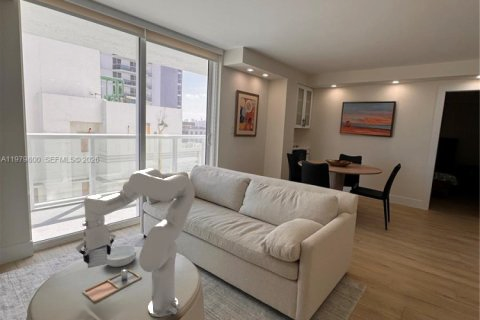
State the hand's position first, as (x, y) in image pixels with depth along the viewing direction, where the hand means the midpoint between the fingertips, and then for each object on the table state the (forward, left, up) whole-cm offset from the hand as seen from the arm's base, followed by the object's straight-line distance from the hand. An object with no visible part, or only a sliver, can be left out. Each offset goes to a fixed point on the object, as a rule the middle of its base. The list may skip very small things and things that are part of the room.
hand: (97, 258), depth 116 cm
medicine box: (+1, 0, -3) cm, 4 cm away
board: (-2, -6, -17) cm, 18 cm away
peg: (-2, -12, -16) cm, 20 cm away
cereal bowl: (+16, -20, -18) cm, 31 cm away
